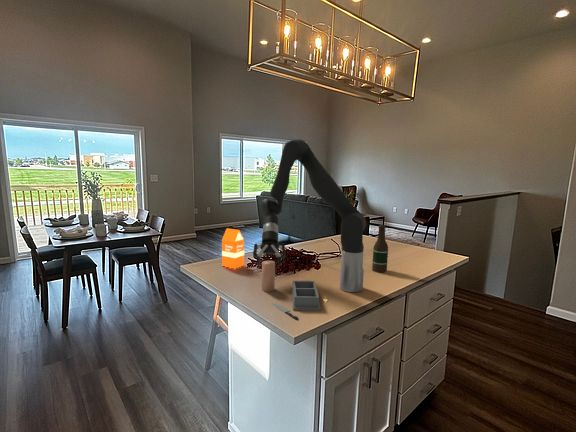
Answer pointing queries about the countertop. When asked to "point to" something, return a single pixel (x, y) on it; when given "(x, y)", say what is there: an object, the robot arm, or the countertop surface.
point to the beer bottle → (380, 252)
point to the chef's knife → (284, 310)
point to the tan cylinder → (268, 276)
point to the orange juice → (232, 249)
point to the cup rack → (305, 296)
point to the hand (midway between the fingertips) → (268, 265)
